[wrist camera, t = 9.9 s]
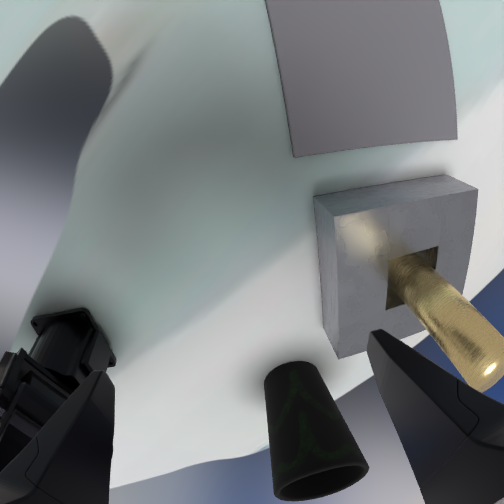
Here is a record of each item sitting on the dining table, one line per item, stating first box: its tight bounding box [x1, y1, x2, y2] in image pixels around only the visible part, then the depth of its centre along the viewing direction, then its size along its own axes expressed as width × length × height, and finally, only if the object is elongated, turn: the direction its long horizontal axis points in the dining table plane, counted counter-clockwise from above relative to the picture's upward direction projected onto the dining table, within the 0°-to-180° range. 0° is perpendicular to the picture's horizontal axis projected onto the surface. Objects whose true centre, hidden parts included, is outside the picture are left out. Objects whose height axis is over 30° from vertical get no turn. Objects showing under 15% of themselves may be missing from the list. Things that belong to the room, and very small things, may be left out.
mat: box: [265, 0, 457, 158], centre depth 17 cm, size 14×12×1 cm
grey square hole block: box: [313, 175, 478, 359], centre depth 23 cm, size 12×12×4 cm
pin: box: [388, 252, 504, 393], centre depth 18 cm, size 3×3×14 cm
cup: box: [264, 361, 369, 501], centre depth 24 cm, size 8×8×12 cm
